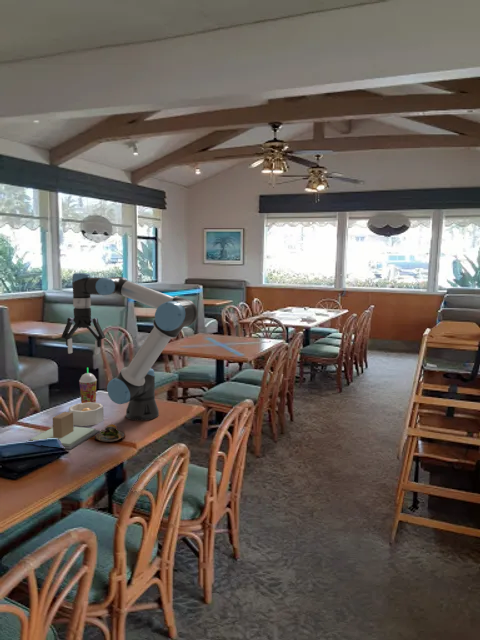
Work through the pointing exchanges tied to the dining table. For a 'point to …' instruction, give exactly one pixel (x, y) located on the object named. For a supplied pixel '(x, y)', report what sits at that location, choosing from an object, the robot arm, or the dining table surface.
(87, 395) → the smoothie
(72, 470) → the dining table surface
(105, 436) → the burger
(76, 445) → the mat
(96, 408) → the bowl
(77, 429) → the lid
